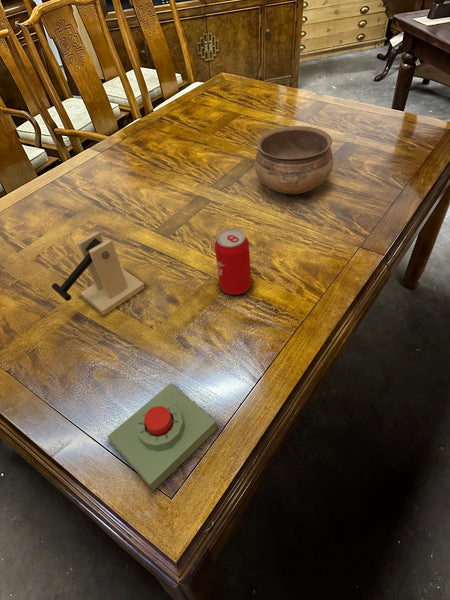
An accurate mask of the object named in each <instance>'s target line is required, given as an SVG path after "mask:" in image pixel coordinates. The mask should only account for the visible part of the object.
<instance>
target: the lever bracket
mask: <svg viewBox="0 0 450 600" xmlns="http://www.w3.org/2000/svg"><path fill="white" fill-rule="evenodd" d="M95 238H96V239H97V240H99V241H100V242H102V243H101V244H99V245H98V246H96V247H94V248H92V249H91V250H89V252H87V251H86V250H85V249H86V248H87V247H88V246H89V244H90V243H91V242H92V241H93V240H94V239H95ZM76 243H77V246H78V249H79V251H80V254H81V256H82V258H83V259H84V258H85V257H86V256H87V255H88V253H90V256H91V258H92V262H91V264H90V265H89V266H88V267H87V268H86V269H87V270H88V272H89V275H90V277H91V279H92V282H93V284H92V285H90V286H89V287H87V288H86V289H84V290H83V291H81V292H80V296H81V297H82V298H83V300H85V301H86V302H87V303H89V304H90V305H91V306H93V308H95V309H96V310H97V311H98V312H99V313H100V314H101V315H103V316H105V315H107V314H108V313H110V312H112V311H113V310H114V309H115V308H117V307H119V306H120V305H122V304H123V303H125V302H126V301H128V300H129V299H130V298H132V297H134V296H135V295H136V294H138V293H140V292H141V291H143V290H144V289H145V288H146V287H145V284H144V282H142V281H141V280H140V279H138V278H137V277H135V276H134V275H133V274H131V273H129V272H128V271H127V270H126V269H124V268H123V267H122V266H121V262H120V261H119V257H118V255H117V252H116V251H117V250H116V248H115V246H114V243H113V241H112V240H111V239H110V238H108V239H106V240H103V239H102V236H101V233H100V231H98V230H96V231H94V232H93V233H91V234H89V235H87V236H85V237H83V238H82V239H80V240H78V241H76Z"/></svg>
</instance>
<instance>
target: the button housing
mask: <svg viewBox="0 0 450 600" xmlns="http://www.w3.org/2000/svg"><path fill="white" fill-rule="evenodd" d="M157 406H162V407H165V408H166V409H167V410H168V411H169V413H170V415H171V418H172V426H171V428H170V430H169V431H168V432H167V433H165V434H163V435H160V436H156V435H152V434H151V433H149V431H148V430H147V427H146V425H145V422H144V418H145V415H146V413H147V412H148V411H149V410H150V409H151V408H153V407H157ZM217 426H218V425H217V421H216V420H215V419H214V418H213V417H211V416H210V415H209V414H208V413H207V412H205V411H204V410H203V409H202V408H201V407H200V406H198V405H197V403H195V402H194V401H193V400H192V399H190V398H189V397H188V396H187V395H186V394H185V393H184V392H182V390H180V389H179V388H178V387H177V386H176V385H174V384H173V383H172V382H170V383H169V384H168V385H167V386H165V387H164V388H163V389H162V390H160V391H159V392H158V393H157V394H156V395H154V396H153V397H152V398H151V399H149V401H147V402H146V403H145V404H144V405H143V406H141V407H140V408H139V409H138V410H136V411H135V412H134V413H133V414H132V415H131V416H129V417H128V419H126V420H125V421H124V422H122V423H121V424H120V425H119V426H118V427H117V428H115V429H114V430H113V431H112V432H110V434H108V435H107V438H108V440H109V442H110V443H111V445H112V446H113V447H114V448H115V449H116V450H117V452H119V453H120V455H121V456H122V457H123V458H124V459H125V460H126V462H127V463H128V464H129V465H130V466H131V467H132V468H133V470H134V471H135V472H136V473H137V474H138V475H139V476H140V477H141V479H142V480H144V482H145V483H146V484H147V485H148V486H149V487H150V488H151V490H152V491H154V492H155V490H156V489H158V487H159V486H160V485H161V484H163V483H164V482H165V481H166V479H168V478H169V477H170V476H171V475H172V474H173V473H174V472H175V471H176V470H177V469H178V468H179V467H180V466H181V465H182V464H183V463H184V462H186V460H187V459H188V458H189V457H190V456H191V455H192V454H193V453H195V451H197V449H198V448H199V447H201V446H202V444H203V443H205V442H206V440H208V439H209V437H211V436H212V434H213V435H214V433H215V432H216V431H217V430H218V427H217Z"/></svg>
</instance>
